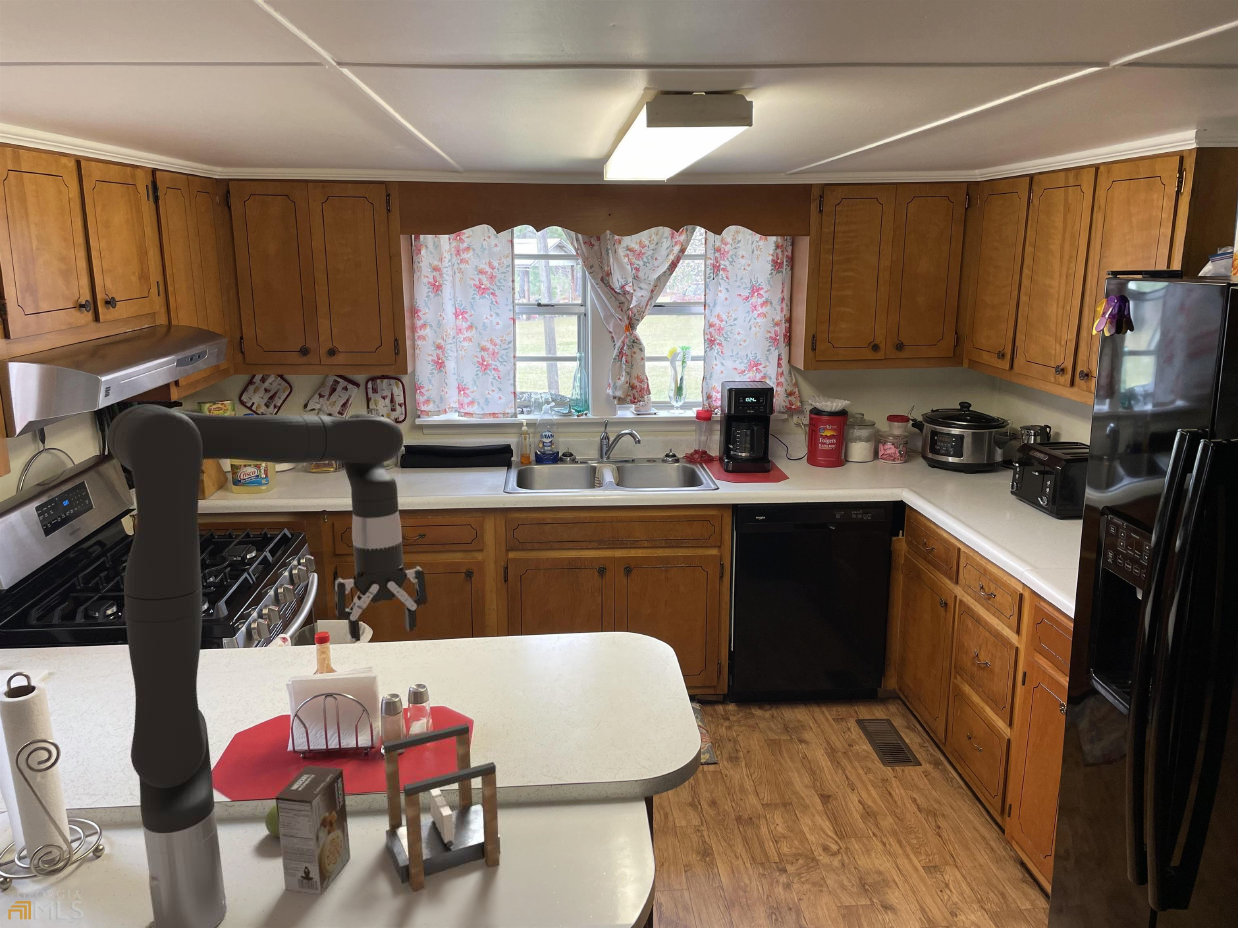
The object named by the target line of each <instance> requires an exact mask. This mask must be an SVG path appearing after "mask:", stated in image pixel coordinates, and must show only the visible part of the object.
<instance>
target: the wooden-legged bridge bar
mask: <svg viewBox="0 0 1238 928" xmlns="http://www.w3.org/2000/svg"><path fill="white" fill-rule="evenodd" d="M467 733H469V734H470V726H469V725H468V723H467V722H465V723H462V724H458V725H453V726H450V727H446V728H442V729H437V730H433V731H429V732H424V733H420V734H414V735H411V736H408V737H403V738H399V739H395V740H391V741H385V742H383V743H382V744H383V752H385V753H389V752H393V751H401V750H404V749H405V750H406V749H409V748H414V747H417V746H420V745H421V746H422V745H426V744H430V743H434V742H439V741H441V740H445V739H451V738H454V737H455V738H456V736H459V735H463V734H467Z"/></svg>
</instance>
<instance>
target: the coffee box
mask: <svg viewBox="0 0 1238 928" xmlns="http://www.w3.org/2000/svg"><path fill="white" fill-rule="evenodd" d="M343 769H344V768H338V767H337V768H336V767H329V766H314V765H306V766H305V767H304V768H303V769H302V770H301V771H299V773H298V774H297V775H296V776H295V777H294V778H293V779H292V780H291V781H290V782H289V783H288V784H287V785H286V786H285V787H284V788H283V789H282V790H281V791H280V792H279V793H278V794H276V796H275V805H277V815H278V824H279V833H280V837H279V840H280V842H279V843H280V851H281V859H282V860H281V861H282V868H283V878H284V879H283V880H284V887H285V890H287V891H293V892H294V891H295V892H302V893H309V894H315V895H316V894H317V895H323V893H324V892H325V891H326V890H327V888H328V887H329V886H330V884H331V883H332V881H334V879H335V878H336V877H337V875H338V874H339V873H340V871H342V869H343V868H344V867H345V865H346V864H347V862H348V861H349V860H350V858H351V848H350V837H349V827H348V824H349V823H348V815H347V804H346V793H345V791H346V790H345V783H344V782H345V781H344V770H343Z"/></svg>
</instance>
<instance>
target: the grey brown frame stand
mask: <svg viewBox="0 0 1238 928" xmlns="http://www.w3.org/2000/svg"><path fill="white" fill-rule="evenodd" d="M470 742H471V741H470V732H469V733H467V734H463V735H459V736H455V747H456V749H455V750H456V765H457V766H456V768H457V770H456V771H460V770H464V769H468V768H471V767H472V766H471V764H472V763H471V750H470V749H471V745H470V744H471V743H470ZM383 752H384V751H383ZM398 752H399V750H397V751H393V752H389V753H385V752H384V753H383V754H384V756H383V757H384V769H385V770H384V772H385V783H386V786H385V787H386V799H387V800H386V801H387V813H388V814H387V815H388V827H389V829H393V828H396V827H400V826H403V816H402V812H403V811H402V802H401V798H402V797H401V784H400V770H399V754H398ZM480 778H481V800H482V801H481V802H482V805H481V806H482V808H483V829H484V852H485V858H484V862H485V864H486V866H487V868H488V869H489V868H492V867H496V866H499V865H500V853H499V841H498V835H499V821H498V820H499V819H498V818H499V816H498V797H497V794H498V793H497V772H496V773H492V774H489V775H485V776H481V777H480ZM457 785H458V786H457V787H458V789H457V790H458V805H459V806H458V807H459V809H458V810H461V809H464V808H468V807H471V806H473V792H472V791H473V790H472V788H473V787H472V779H470V780H466V781H462V782H459V783H457ZM403 795H404V796H403V797H404V808H405V809H404V811H405V825H406V829H407V845H408V861H409V877H410V881H409V886H410V888H411V890H412V893H413V892H416V891H420V890H424V889H425V876H424V869H423V852H422V835H421V820H422V819H421V805H420V793H417V794H414V795H410V796H405V794H404V793H403ZM389 829H388V830H389Z"/></svg>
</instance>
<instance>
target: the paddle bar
mask: <svg viewBox="0 0 1238 928" xmlns="http://www.w3.org/2000/svg"><path fill="white" fill-rule="evenodd" d="M442 794H443V793H442V792H441V790H440V788H436V789H432V790H429V805H430V817H431V818H433V820H434V822H435V823H436V826H437V828H438V830H439V832H440V833H441V836H442V838H443V840H444V842H445V843H446V845H447V847H448V848H451V847H452V846H453V842H452V841H453V840H454V837H453V817H452V812H453V811H452V810H451V809H450V806H449V805H448V802H447V801H446V799H445V798H444V796H443V795H442Z"/></svg>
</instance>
